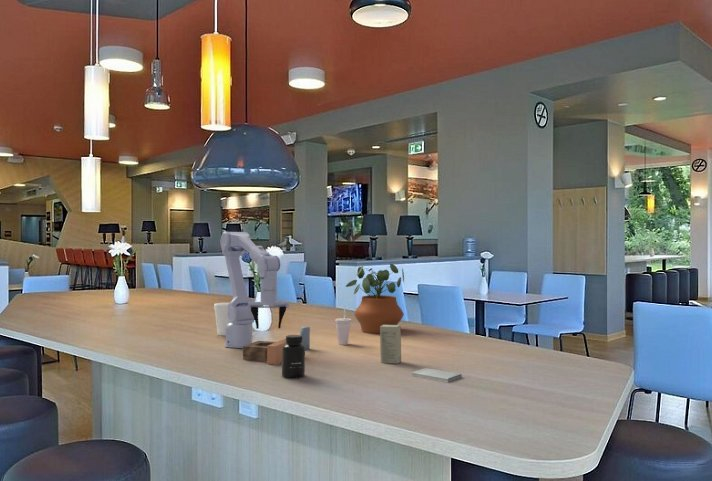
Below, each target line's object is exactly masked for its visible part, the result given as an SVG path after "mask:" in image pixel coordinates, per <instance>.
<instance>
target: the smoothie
mask: <svg viewBox="0 0 712 481" xmlns="http://www.w3.org/2000/svg"><path fill="white" fill-rule="evenodd" d="M334 322H335V326H336V335H337V343H338V346H339V345H340V346H346V345H348V344H349V340H350V339H349V337H350V330H351V323H352V319H351V318H346V308H345V307H344V308H343V317H342V318H341V317H340V318H339V317H338V318H335V321H334Z"/></svg>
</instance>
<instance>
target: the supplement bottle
mask: <svg viewBox="0 0 712 481" xmlns="http://www.w3.org/2000/svg"><path fill="white" fill-rule="evenodd" d="M285 339H286V343H287V344H286V345H284V346H283V348H282V362H281V376H282V377H283V378H285V379H293V380H294V379H301V378H303V377H305V374H306V350H305V347H304V345H302V344H301V343H302V336H301V335H300V334H287V335H286V336H285Z"/></svg>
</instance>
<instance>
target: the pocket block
mask: <svg viewBox="0 0 712 481" xmlns="http://www.w3.org/2000/svg"><path fill="white" fill-rule="evenodd" d="M276 342H277V341H270V340H269V341H268V340H265V341H264V340H256V341H254V342H252V343H251V344H248V345H245V346H243V348H242V360H243V361H244V360H245V361H259V362H267V346H268V345H270V344H273V343H276Z"/></svg>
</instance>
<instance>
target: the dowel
mask: <svg viewBox="0 0 712 481" xmlns="http://www.w3.org/2000/svg"><path fill="white" fill-rule="evenodd" d="M299 329H300V331H299V332H300V333H299V335H301V336H302V343H301V344H302V345H304V347H305V351H306V350H307V351H308V350H310V347H311V346H310V345H311V344H310V343H311V341H310V340H311V339H310V338H311V337H310V336H311V334H310V333H311V332H310V331H311V328H310V326H301V327H299Z"/></svg>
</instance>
